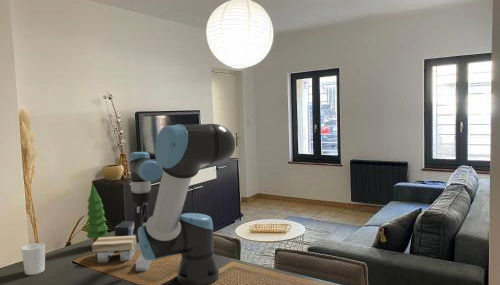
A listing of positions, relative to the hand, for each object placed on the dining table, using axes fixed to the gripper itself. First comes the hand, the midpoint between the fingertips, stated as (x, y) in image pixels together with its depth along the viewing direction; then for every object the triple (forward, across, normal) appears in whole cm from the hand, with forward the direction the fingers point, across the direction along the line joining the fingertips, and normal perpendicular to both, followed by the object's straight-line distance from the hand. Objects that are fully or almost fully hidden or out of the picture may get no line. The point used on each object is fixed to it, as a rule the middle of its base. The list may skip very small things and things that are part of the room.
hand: (143, 244), depth 150 cm
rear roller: (+9, -12, -9) cm, 17 cm away
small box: (+10, -26, -13) cm, 30 cm away
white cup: (+9, 0, -42) cm, 43 cm away
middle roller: (+9, -12, -18) cm, 23 cm away
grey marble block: (+9, 0, 0) cm, 9 cm away
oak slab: (+5, -12, -14) cm, 19 cm away
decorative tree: (+10, -28, -26) cm, 39 cm away
